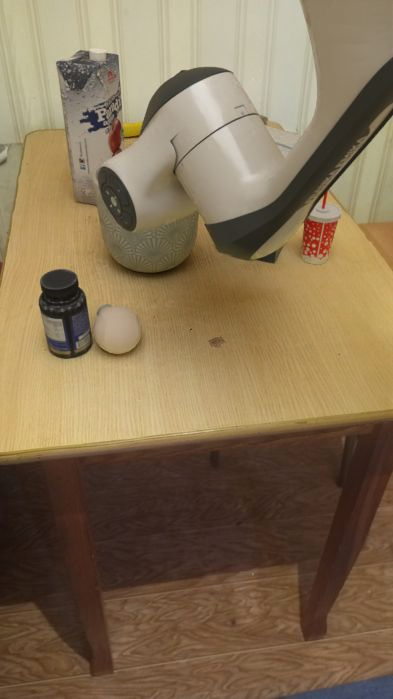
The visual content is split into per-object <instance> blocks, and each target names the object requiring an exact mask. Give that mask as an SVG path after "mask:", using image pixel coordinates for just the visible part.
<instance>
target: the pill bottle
mask: <svg viewBox="0 0 393 699" xmlns="http://www.w3.org/2000/svg"><path fill="white" fill-rule="evenodd" d="M39 285H40V289H41V293H40V295H39V297H38V307H39V312H40V316H41V320H42V326H43V330H44V336H45V339H46V343H47V347H48V351H49V352H50V353H51V354H52V355H54V356H56V357H58V358H63V359H70V358H75V357H78V356H81V355H83V354H85V353H86V352H87V351H88V350H89V349H90V348H91V347H92V344H93V335H92V329H91V322H90V321H91V320H90V315H89V308H88V301H87V300H88V299H87V296H86V293H85V291H84V290H83V289H82V288H81V287H80V286H79V285H80V282H79V277H78V275H77V273H76V272H75V271H73V270H70V269H66V268H57V269H52V270H49V271H47V272H45V273H44V274H43V275H42V276H41V277H40V280H39Z"/></svg>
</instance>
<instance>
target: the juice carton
mask: <svg viewBox="0 0 393 699" xmlns="http://www.w3.org/2000/svg"><path fill="white" fill-rule="evenodd" d="M55 66H56V72H57V77H58V85H59V92H60V100H61V108H62V116H63V123H64V131H65V138H66V139H65V140H66V146H67V155H68V161H69V169H70V176H71V183H72V189H73V194H74V199H75V202H78V203H81V204H88V205H94V206H97V204H96V199H95V194H94V188H93V183H92V172H93V170H94V169H95V167H96V166H97V165H99V164H100V163H102V162H103V161H105V160H107V159H110V158H111V157H113V156H115V155H117V154H118V153H120V152H122V151H123V150H125V149H126V146H125V137H124V129H123V124H124V116H123V100H122V84H121V74H120V73H121V72H120V71H121V70H120V57H119V54H117V53H109V52H107V50H106V49H105V48H100V47H91V48H90V49H88V50H84V49H80V50H78V51H76V52H75V53H74V54H72V55H71V56H70V57H67V58H61V59H59V60H57V61H56V62H55Z"/></svg>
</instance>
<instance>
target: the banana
mask: <svg viewBox="0 0 393 699" xmlns="http://www.w3.org/2000/svg"><path fill="white" fill-rule="evenodd" d="M142 123H143V120H142V121H135V122H127V123H126V122H125V123H124V122H123V129H124V138H130V137H137V136H140V131H141V127H142Z"/></svg>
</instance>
